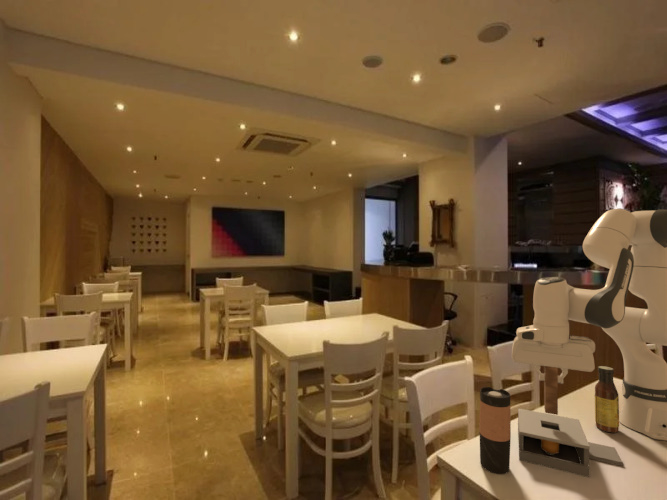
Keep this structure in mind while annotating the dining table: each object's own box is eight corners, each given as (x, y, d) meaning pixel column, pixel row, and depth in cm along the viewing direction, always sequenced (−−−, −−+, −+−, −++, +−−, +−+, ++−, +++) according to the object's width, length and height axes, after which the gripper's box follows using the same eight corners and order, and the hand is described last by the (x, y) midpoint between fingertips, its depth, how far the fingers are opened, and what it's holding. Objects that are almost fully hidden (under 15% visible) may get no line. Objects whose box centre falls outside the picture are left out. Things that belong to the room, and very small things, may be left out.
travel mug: (493, 477, 90) (493, 399, 90) (473, 460, 97) (473, 388, 97) (517, 472, 92) (517, 396, 92) (495, 455, 99) (496, 385, 99)
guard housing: (578, 446, 104) (578, 419, 104) (589, 477, 90) (589, 446, 90) (518, 433, 111) (518, 408, 111) (519, 460, 97) (519, 431, 97)
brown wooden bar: (556, 410, 101) (556, 355, 101) (557, 414, 99) (557, 358, 99) (544, 408, 103) (544, 354, 103) (545, 412, 100) (545, 356, 100)
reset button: (558, 447, 102) (558, 438, 102) (560, 455, 98) (560, 446, 98) (540, 443, 104) (540, 434, 104) (541, 450, 100) (541, 442, 100)
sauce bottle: (623, 434, 111) (623, 372, 111) (601, 432, 112) (601, 370, 112) (611, 424, 117) (611, 365, 117) (590, 422, 119) (591, 364, 119)
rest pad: (614, 450, 102) (614, 447, 102) (622, 466, 95) (622, 462, 95) (581, 443, 106) (581, 440, 106) (586, 457, 98) (586, 454, 98)
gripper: (592, 335, 99) (592, 383, 99) (511, 327, 108) (511, 372, 108) (597, 340, 93) (597, 392, 93) (511, 332, 102) (511, 379, 102)
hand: (550, 381), depth 101 cm, fingers closed on brown wooden bar, 3 cm apart
